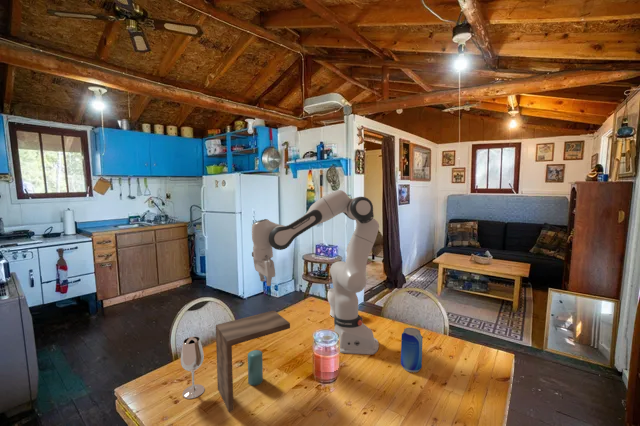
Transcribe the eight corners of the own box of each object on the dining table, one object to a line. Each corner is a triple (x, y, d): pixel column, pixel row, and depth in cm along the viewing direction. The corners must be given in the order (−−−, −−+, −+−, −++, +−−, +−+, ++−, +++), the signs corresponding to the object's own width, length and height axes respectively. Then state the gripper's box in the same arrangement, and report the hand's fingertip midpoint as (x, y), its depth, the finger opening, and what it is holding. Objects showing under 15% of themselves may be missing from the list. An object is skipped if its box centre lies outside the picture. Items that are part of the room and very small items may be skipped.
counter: (217, 388, 111) (215, 324, 109) (274, 367, 125) (273, 310, 122) (228, 412, 100) (227, 341, 98) (290, 386, 113) (289, 323, 111)
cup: (328, 310, 183) (328, 287, 181) (345, 311, 181) (345, 287, 180) (326, 318, 172) (326, 293, 171) (344, 319, 171) (344, 294, 169)
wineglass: (196, 400, 105) (194, 346, 104) (177, 397, 107) (174, 344, 105) (209, 386, 113) (207, 336, 111) (190, 383, 114) (188, 334, 113)
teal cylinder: (265, 377, 118) (264, 351, 117) (258, 386, 113) (258, 359, 112) (252, 375, 120) (252, 349, 119) (245, 384, 114) (244, 356, 113)
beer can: (397, 367, 125) (398, 331, 123) (406, 359, 131) (407, 324, 129) (416, 376, 119) (417, 338, 118) (425, 367, 125) (426, 330, 124)
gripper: (277, 256, 131) (279, 286, 132) (263, 250, 149) (265, 277, 150) (263, 258, 128) (266, 289, 129) (250, 252, 146) (253, 280, 147)
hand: (265, 283), depth 139 cm, fingers open, 8 cm apart
